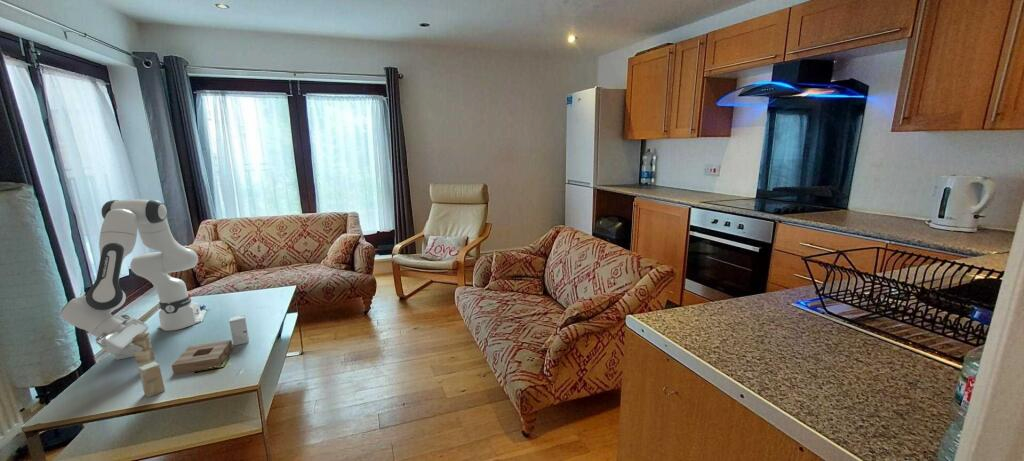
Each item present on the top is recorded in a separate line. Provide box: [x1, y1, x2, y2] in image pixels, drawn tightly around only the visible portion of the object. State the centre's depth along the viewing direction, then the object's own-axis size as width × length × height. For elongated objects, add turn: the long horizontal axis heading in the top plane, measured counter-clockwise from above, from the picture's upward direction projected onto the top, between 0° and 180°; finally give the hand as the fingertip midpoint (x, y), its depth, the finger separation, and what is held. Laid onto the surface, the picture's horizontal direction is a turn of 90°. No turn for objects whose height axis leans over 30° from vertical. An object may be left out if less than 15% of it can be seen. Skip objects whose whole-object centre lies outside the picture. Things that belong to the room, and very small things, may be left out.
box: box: [137, 361, 166, 398], centre depth 152 cm, size 5×4×11 cm
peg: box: [132, 331, 156, 367], centre depth 166 cm, size 4×4×12 cm
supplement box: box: [114, 348, 135, 361], centre depth 180 cm, size 7×7×13 cm
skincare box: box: [228, 314, 250, 346], centre depth 187 cm, size 6×4×12 cm
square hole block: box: [171, 339, 234, 375], centre depth 173 cm, size 16×16×4 cm
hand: (145, 346), depth 166 cm, fingers closed on peg, 4 cm apart
